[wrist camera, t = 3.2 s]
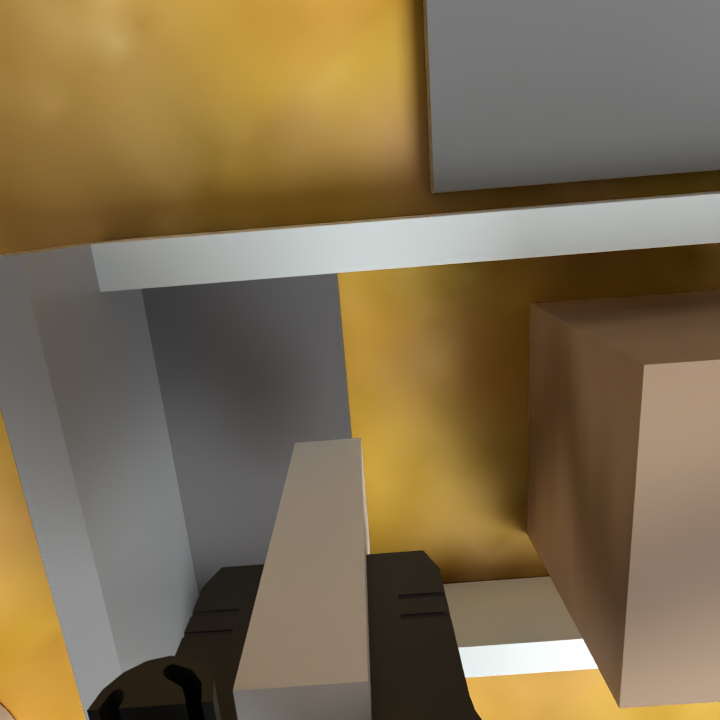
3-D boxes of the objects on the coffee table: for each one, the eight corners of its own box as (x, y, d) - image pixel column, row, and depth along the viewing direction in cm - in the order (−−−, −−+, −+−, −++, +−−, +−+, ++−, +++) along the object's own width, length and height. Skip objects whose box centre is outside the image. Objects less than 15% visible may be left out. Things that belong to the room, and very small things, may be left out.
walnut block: (528, 302, 14) (643, 364, 9) (792, 283, 14) (1085, 333, 9) (526, 531, 16) (619, 708, 11) (759, 515, 16) (981, 684, 11)
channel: (97, 241, 14) (-41, 259, 9) (851, 180, 14) (1124, 165, 9) (177, 630, 17) (107, 797, 12) (786, 586, 17) (959, 738, 12)
